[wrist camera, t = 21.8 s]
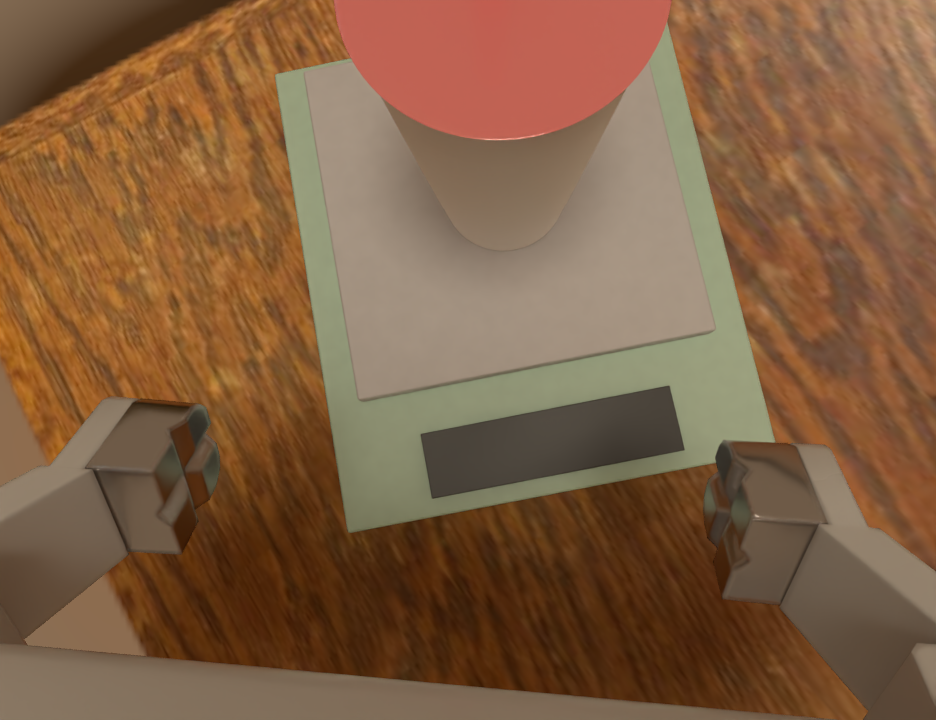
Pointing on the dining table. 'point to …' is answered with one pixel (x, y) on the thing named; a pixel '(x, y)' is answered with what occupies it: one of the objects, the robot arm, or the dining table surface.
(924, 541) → the dining table surface
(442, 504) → the scale
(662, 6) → the cup
